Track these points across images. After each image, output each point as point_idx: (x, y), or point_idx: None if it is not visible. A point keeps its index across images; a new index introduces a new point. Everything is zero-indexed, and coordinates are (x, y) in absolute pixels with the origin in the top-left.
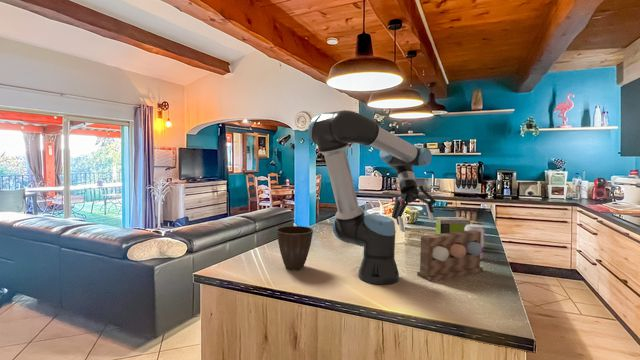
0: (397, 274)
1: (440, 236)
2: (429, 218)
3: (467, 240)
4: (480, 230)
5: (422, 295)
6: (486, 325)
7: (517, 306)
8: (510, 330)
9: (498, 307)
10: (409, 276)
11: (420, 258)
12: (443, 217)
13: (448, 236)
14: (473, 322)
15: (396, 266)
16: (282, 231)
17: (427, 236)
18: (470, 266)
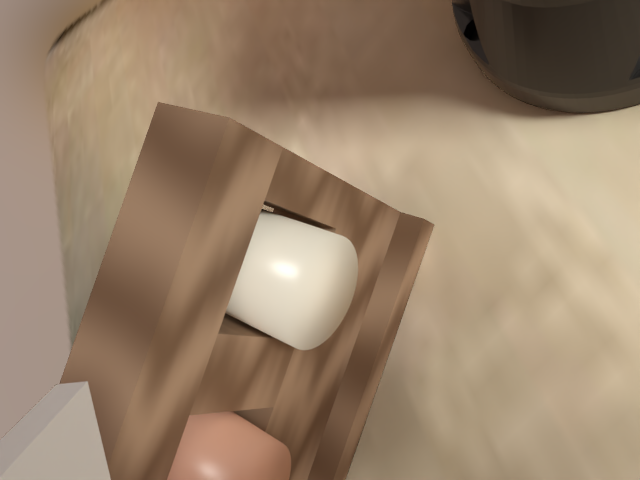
0: (455, 17)
1: (110, 262)
2: (76, 387)
3: None
4: None
5: (294, 20)
6: (104, 24)
7: (60, 229)
8: (67, 55)
9: (95, 170)
10: (464, 174)
11: (349, 184)
12: None
13: (77, 349)
14: (128, 7)
15: (476, 24)
16: None
17: (183, 158)
18: None
